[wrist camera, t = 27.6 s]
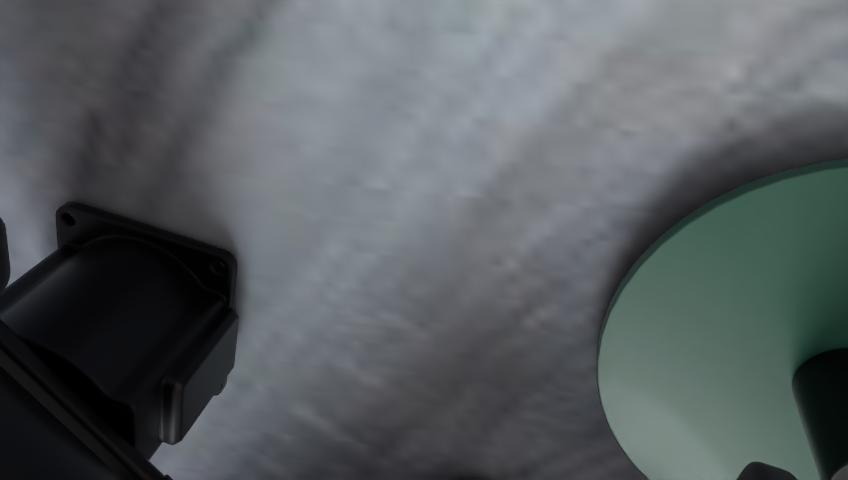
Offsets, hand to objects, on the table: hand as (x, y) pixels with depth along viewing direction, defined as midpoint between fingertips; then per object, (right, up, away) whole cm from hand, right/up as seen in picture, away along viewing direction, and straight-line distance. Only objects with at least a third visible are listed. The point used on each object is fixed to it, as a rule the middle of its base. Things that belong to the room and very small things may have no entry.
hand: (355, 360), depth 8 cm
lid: (+13, -2, +13) cm, 18 cm away
